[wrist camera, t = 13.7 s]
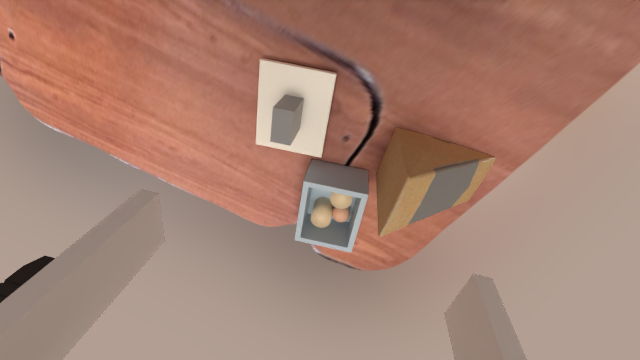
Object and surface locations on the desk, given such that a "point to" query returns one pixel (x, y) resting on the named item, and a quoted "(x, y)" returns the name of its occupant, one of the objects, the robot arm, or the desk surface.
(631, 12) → the desk surface
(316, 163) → the box
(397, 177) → the sandwich container
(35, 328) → the robot arm
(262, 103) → the lid
